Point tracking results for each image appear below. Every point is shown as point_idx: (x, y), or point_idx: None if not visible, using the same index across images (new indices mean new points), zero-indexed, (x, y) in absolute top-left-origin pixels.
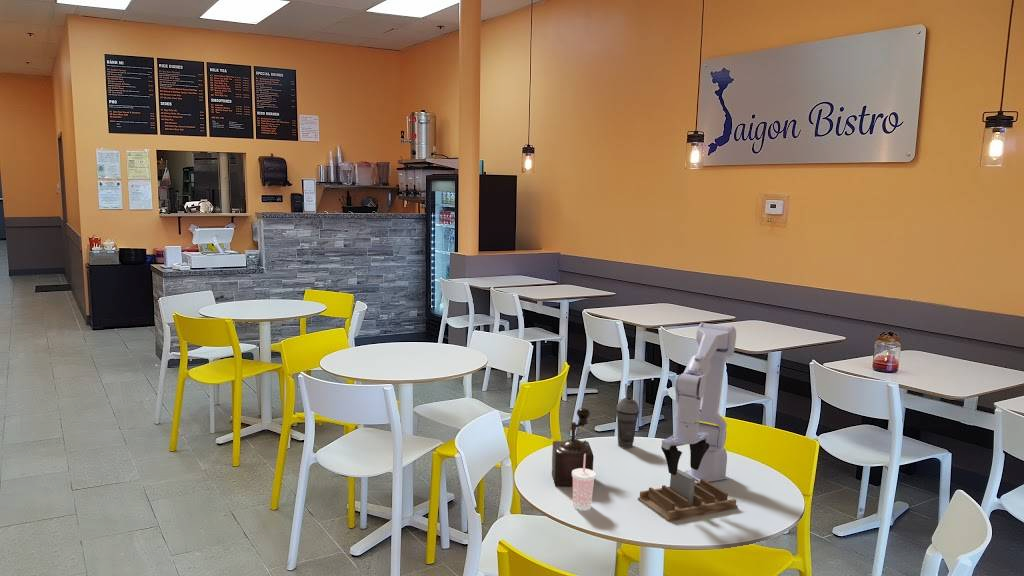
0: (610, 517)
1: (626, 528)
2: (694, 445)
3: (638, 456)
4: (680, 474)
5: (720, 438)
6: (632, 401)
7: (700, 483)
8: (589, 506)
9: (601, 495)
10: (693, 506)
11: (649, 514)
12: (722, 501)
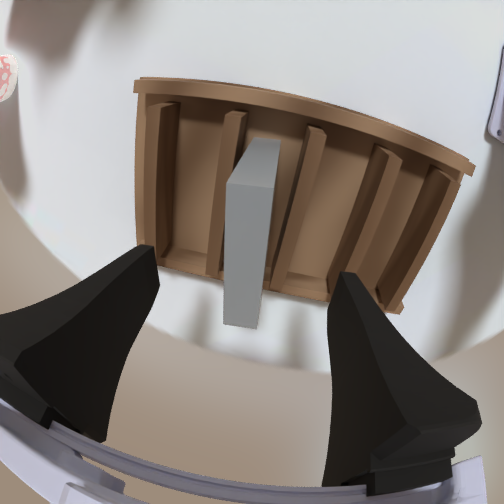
0: (28, 153)
1: (40, 214)
2: (360, 441)
3: None
4: (225, 261)
5: None
6: None
7: (440, 176)
8: (3, 99)
9: (68, 17)
10: None
11: (115, 184)
12: None
